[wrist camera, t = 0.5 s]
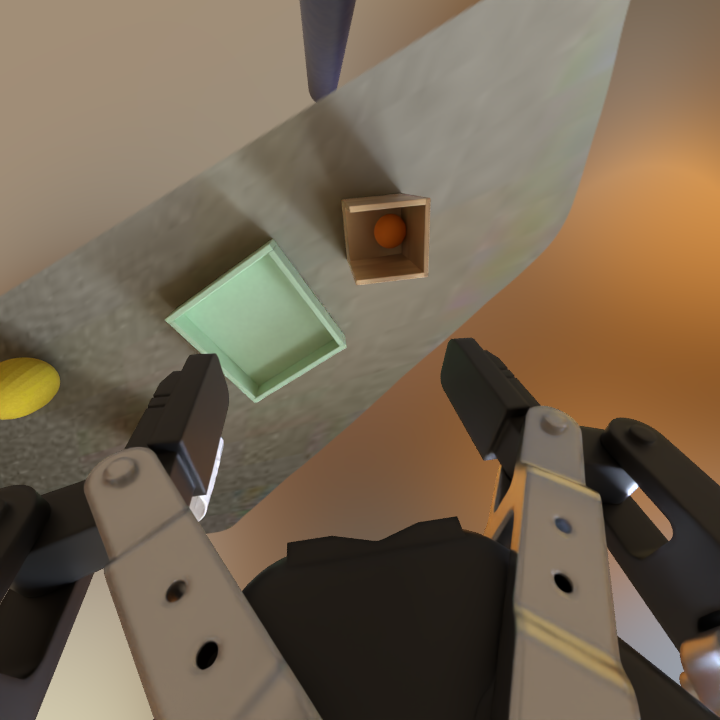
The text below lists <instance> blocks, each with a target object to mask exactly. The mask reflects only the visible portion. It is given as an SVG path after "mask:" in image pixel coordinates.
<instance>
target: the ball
mask: <svg viewBox="0 0 720 720" xmlns="http://www.w3.org/2000/svg"><path fill="white" fill-rule="evenodd" d="M374 235H375V239H376V241H377V242H378V243H379V244H380V245H381V246H382V247H384V248H395V247H397V246H399V245H400V244H401V243H402V242H403V240H404V238H405V236H406V225H405V223H404V221H403V220H402V218H401V217H399V216H397V215H395V214H386V215H384V216H382V217H381V218H380V219H379V220H378V221H377V223H376V225H375V228H374Z"/></svg>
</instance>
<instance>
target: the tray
mask: <svg viewBox="0 0 720 720" xmlns="http://www.w3.org/2000/svg"><path fill="white" fill-rule="evenodd" d="M165 321H166V322H167V323H168V324H170V325H171V326H172V327H173V328H174V329H175V330H176V331H177V332H178V333H179V334H180V335H182V336H183V337H184V338H185V339H186V340H187V341H188V342H189V343H190V344H191V345H192V346H193V347H195V348H196V349H197V350H198V351H199V352H200V353H201V354H210V353H216V354H217V356H218V358H219V361H220V364H221V368H222V371H223V374H224V375H225V376H226V377H227V378H228V379H229V380H230V381H232V382H233V383H234V384H235V385H236V386H237V387H238V388H239V389H240V390H241V391H242V392H243V393H245V394H246V395H247V396H248V397H249V398H250V399H251V400H252V401H253V402H254V403H256V402H258V401H260V400H261V399H263V398H265V397H266V396H268V395H269V394H271V393H273V392H274V391H276V390H278V389H279V388H281V387H283V386H284V385H286V384H287V383H289V382H291V381H292V380H294V379H296V378H297V377H299V376H300V375H302V374H304V373H305V372H307V371H309V370H310V369H312V368H314V367H315V366H317V365H318V364H320V363H322V362H323V361H325V360H327V359H328V358H330V357H331V356H333V355H335V354H336V353H338V352H340V351H341V350H343V349H345V348H346V341H345V336H344V334H343V333H342V332H341V330H340V329H339V327H338V326H337V325H336V323H335V322H334V321H333V319H332V318H331V317H330V315H329V314H328V313H327V311H326V310H325V309H324V307H323V306H322V305H321V303H320V302H319V300H318V299H317V298H316V296H315V295H314V294H313V292H312V291H311V290H310V288H309V287H308V286H307V284H306V283H305V282H304V280H303V279H302V277H301V276H300V275H299V273H298V272H297V271H296V269H295V268H294V267H293V265H292V264H291V263H290V261H289V260H288V259H287V257H286V256H285V255H284V253H283V252H282V250H281V249H280V248H279V246H278V245H277V244H276V242H275V241H274V240H273V239H271V240H270V241H269V242H267V243H266V244H264V245H263V246H262V247H260V248H259V249H258V250H256V251H255V252H253V253H252V254H251V255H249V256H248V257H247V258H245V259H244V260H242V261H241V262H240V263H238V264H237V265H236V266H234V267H233V268H231V269H230V270H229V271H227V272H226V273H225V274H223V275H222V276H220V277H219V278H218V279H216V280H215V281H214V282H212V283H211V284H209V285H208V286H207V287H205V288H204V289H203V290H201V291H200V292H198V293H197V294H196V295H194V296H193V297H191V298H190V299H189V300H187V301H186V302H185V303H183V304H182V305H180V306H179V307H178V308H176V309H175V310H174V311H173V312H172V313H171V314H170V315H169V316H168V317H166V318H165Z"/></svg>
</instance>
